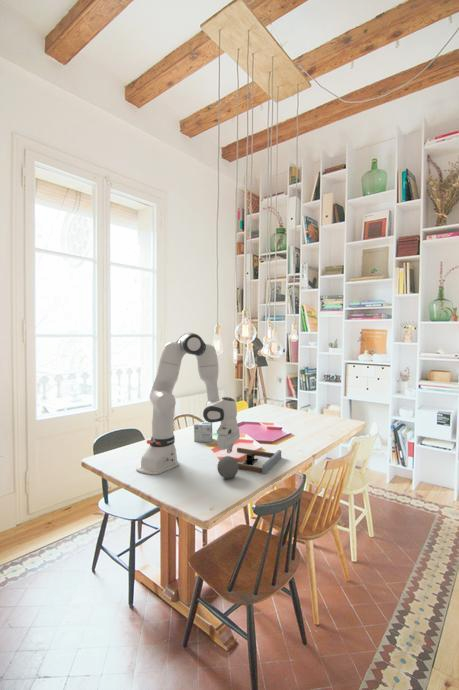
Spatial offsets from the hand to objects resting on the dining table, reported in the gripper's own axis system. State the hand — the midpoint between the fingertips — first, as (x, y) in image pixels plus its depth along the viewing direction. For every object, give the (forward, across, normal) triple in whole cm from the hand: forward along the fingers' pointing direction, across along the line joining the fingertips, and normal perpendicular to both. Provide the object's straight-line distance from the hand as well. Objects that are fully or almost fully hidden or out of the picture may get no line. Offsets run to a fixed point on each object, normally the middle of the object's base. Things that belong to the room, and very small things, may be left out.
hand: (229, 452), depth 199 cm
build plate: (+4, +1, +12) cm, 13 cm away
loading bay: (+3, +1, +12) cm, 12 cm away
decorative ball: (+3, +24, +11) cm, 26 cm away
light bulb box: (+3, -20, -28) cm, 34 cm away
